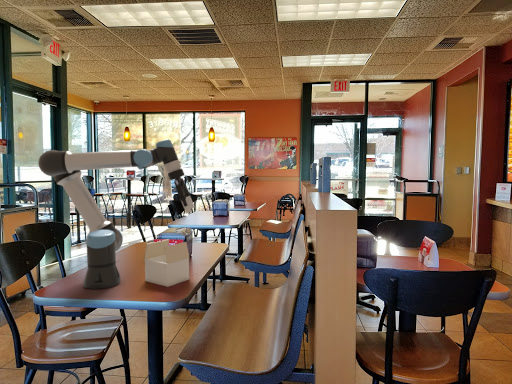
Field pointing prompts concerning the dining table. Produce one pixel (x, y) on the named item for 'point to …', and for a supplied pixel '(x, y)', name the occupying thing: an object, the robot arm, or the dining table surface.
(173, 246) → the near flap
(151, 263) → the carton
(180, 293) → the dining table surface
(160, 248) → the far flap
